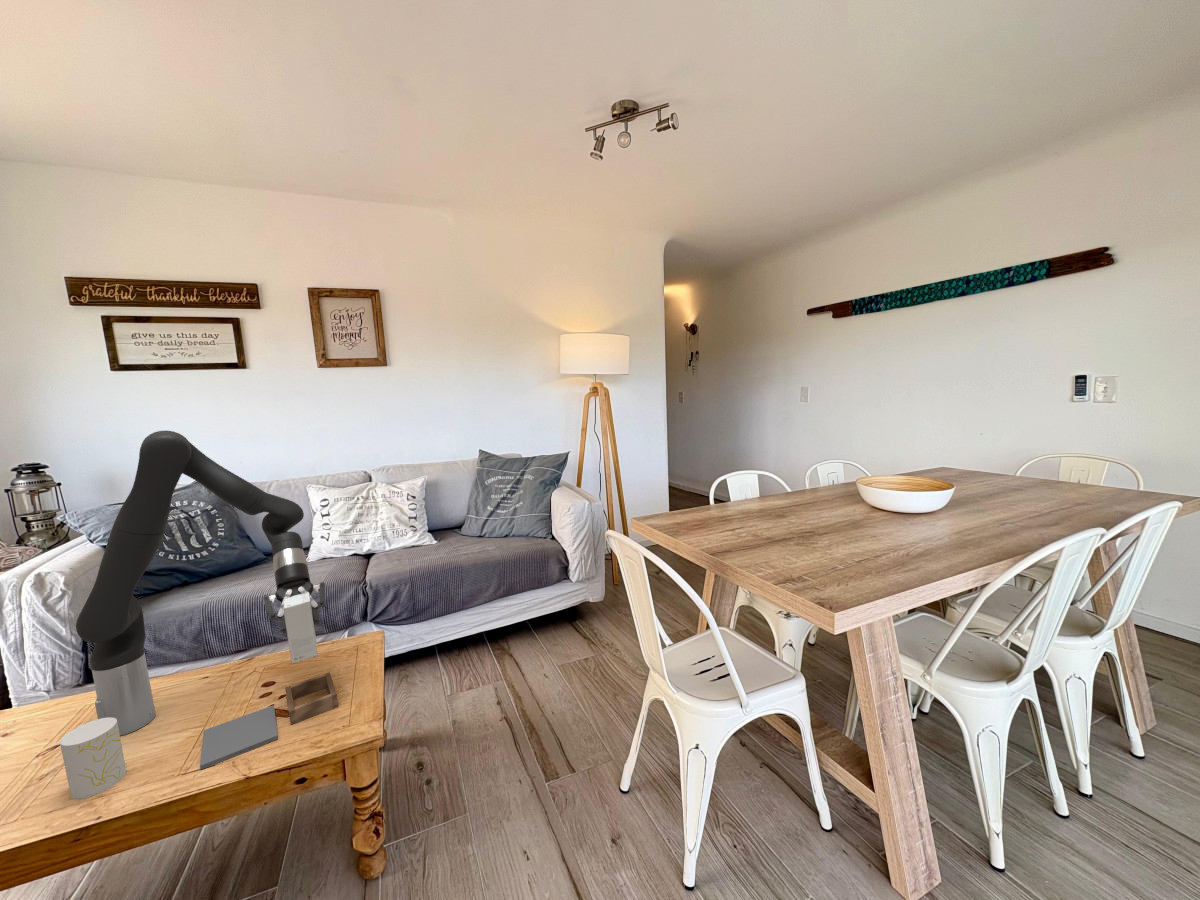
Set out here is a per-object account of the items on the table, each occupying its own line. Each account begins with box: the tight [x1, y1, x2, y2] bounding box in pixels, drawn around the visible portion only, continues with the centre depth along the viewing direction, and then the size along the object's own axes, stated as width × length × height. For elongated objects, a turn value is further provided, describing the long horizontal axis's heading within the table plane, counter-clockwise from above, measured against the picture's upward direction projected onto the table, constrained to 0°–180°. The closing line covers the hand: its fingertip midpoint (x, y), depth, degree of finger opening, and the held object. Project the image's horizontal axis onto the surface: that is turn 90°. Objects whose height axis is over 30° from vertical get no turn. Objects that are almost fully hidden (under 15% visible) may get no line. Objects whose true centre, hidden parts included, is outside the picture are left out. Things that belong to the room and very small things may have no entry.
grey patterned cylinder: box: [59, 717, 127, 800], centre depth 99 cm, size 8×8×12 cm
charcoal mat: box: [199, 704, 279, 771], centre depth 112 cm, size 14×14×1 cm
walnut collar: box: [284, 672, 339, 726], centre depth 123 cm, size 10×12×4 cm
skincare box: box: [283, 592, 319, 664], centre depth 120 cm, size 8×6×15 cm
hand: (300, 627), depth 119 cm, fingers closed on skincare box, 6 cm apart
